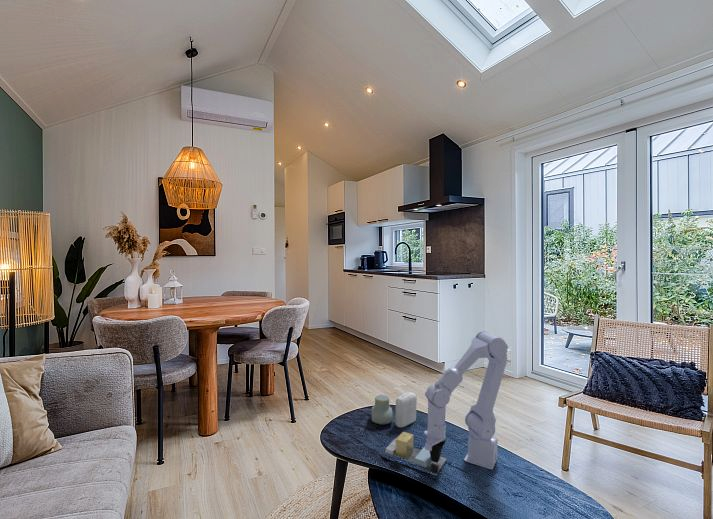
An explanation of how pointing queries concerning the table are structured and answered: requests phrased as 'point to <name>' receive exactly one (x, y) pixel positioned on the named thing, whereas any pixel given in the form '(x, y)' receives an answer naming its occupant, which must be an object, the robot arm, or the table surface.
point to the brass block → (404, 445)
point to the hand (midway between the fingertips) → (435, 460)
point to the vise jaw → (423, 458)
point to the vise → (431, 466)
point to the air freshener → (382, 410)
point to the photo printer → (405, 409)
